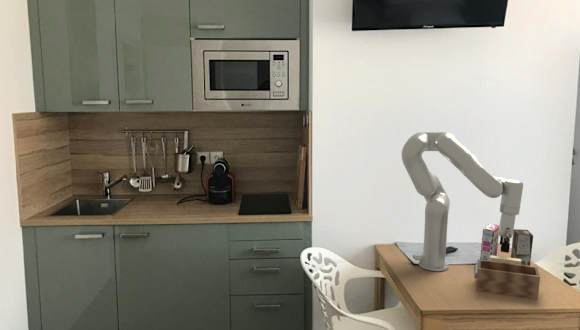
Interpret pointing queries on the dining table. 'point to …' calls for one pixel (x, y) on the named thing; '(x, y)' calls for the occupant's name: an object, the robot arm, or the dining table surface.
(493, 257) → the lid
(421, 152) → the robot arm
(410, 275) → the dining table surface
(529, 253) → the coffee box
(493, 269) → the open wooden box
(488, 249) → the candy bar box
